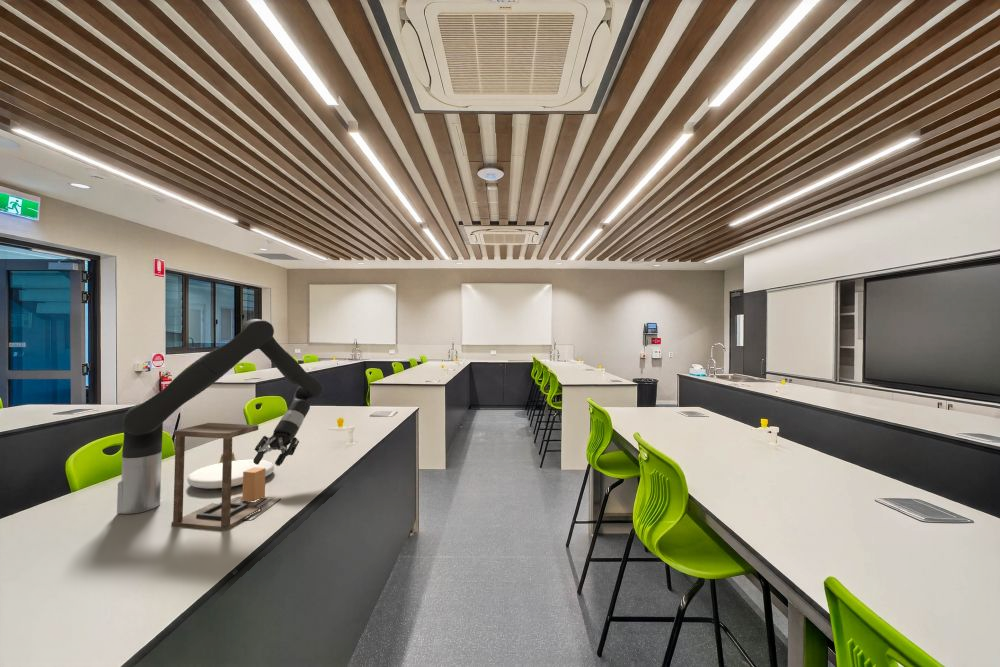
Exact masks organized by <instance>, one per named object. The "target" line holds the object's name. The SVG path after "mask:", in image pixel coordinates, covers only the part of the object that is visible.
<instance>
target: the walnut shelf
mask: <svg viewBox="0 0 1000 667" xmlns="http://www.w3.org/2000/svg"><path fill="white" fill-rule="evenodd" d="M255 431H259V424H246V423H245V424H242V423H222V422H220V423H218V422H207V423H202V424H198V425H193V426H189V427H184V428H181V429H176V430H173V436H174V437H175V443H174V444H175V446H174V448H175V449H174V475H173V476H174V479H173V480H174V482H173V514H172V516H173V517H172V521H171V527H173V526H174V527H182V528H191V527H192V528H193V529H202V530H212V529H214V530H213V531H222V530H223V531H224V532H226V531H228V530H229V528H230V529H231V528H234V527H235V526H237V525H239V524H240V523H242V522H244V521H245V520H244V519H245V518H246V517H247V516H249V515H250V514H252V513H254V512H256V511H258V510H259V509H261V510H262V507H261V506H249V504H248V503H244V502H243V503H242V502H241V503H239V502H232V487H231V473H232V452H233V438H235V437H239V436H241V435H242V436H243V435H245V434H250V433H253V432H255ZM187 437H190V438H209V439H222V441H223V442H222V454H223V471H222V488H221V502H220V503H219V502H218V503H214V502H212V503H210V504H208V505H206V506H203V507H201V508H199V509H196V510H195V511H192V512H190V513H188V514H186V515H183V513H184V485H185V484H184V480H185V451H186V450H185V448H186V445H185V444H186V443H185V442H186V441H185V440H186V438H187ZM243 520H244V521H243ZM241 521H242V522H241Z"/></svg>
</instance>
